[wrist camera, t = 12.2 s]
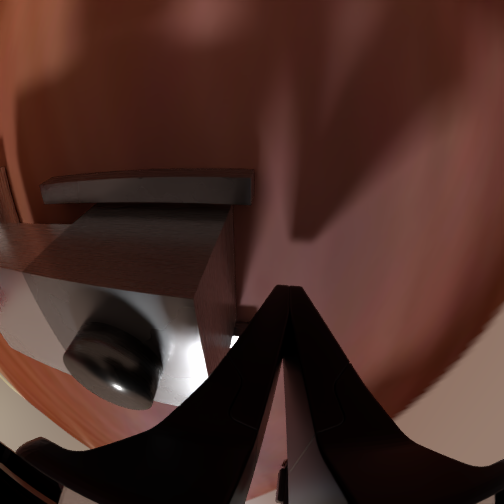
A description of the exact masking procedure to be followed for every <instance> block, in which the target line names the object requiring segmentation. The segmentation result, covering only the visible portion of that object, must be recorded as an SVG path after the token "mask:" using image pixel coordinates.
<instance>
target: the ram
mask: <svg viewBox="0 0 504 504" xmlns="http://www.w3.org/2000/svg"><path fill="white" fill-rule="evenodd" d="M236 318H237V311H236V285H235V256H234V222H233V204H210V203H170V202H99V203H97V204H96V205H94V206H93V207H92V208H91V209H90V210H88V211H87V212H86V213H85V214H84V215H82V216H81V217H80V218H79V219H78V220H76V221H75V222H74V223H73V224H29V223H0V332H1V334H2V335H3V337H4V338H5V340H6V341H7V343H8V344H9V345H10V347H11V348H13V349H15V350H17V351H19V352H21V353H23V354H25V355H27V356H29V357H31V358H33V359H35V360H37V361H40V362H42V363H44V364H46V365H49V366H51V367H53V368H56V369H58V370H60V371H63V372H65V373H68V374H70V375H72V376H73V377H74V378H75V379H76V380H77V381H78V382H79V383H80V384H82V385H83V386H84V387H85V388H87V389H88V390H90V391H91V392H92V393H94V394H96V395H97V396H99V397H101V398H103V399H105V400H107V401H109V402H111V403H113V404H116V405H118V406H121V407H125V408H128V409H134V410H146V409H149V408H150V407H151V406H152V403H153V401H157V402H161V403H166V404H170V405H175V406H179V405H180V404H181V403H183V402H184V401H185V400H186V399H187V398H188V397H189V396H190V395H191V394H192V393H193V392H194V391H195V390H196V389H197V388H198V387H199V386H200V385H201V384H202V383H203V382H204V381H205V380H206V379H207V378H208V377H209V375H210V374H211V373H212V372H213V370H214V369H215V368H216V367H217V366H218V364H219V363H220V362H221V360H222V359H223V358H224V356H226V354H227V353H228V351H229V350H230V346H231V342H232V337H233V332H234V328H235V323H236Z"/></svg>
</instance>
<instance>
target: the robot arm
mask: <svg viewBox="0 0 504 504" xmlns="http://www.w3.org/2000/svg"><path fill="white" fill-rule="evenodd" d="M282 359H283V369H284V388H285V408H286V430H287V457H288V462H286V464H285V466H284V468H282V469H281V470H280V471H279V473H278V482H277V492H276V502H277V503H281V504H504V459H503V460H500V461H498V462H496V463H494V464H492V465H490V466H484V467H478V466H472V465H468V464H465V463H462V462H460V461H457V460H455V459H452V458H449V457H447V456H444V455H442V454H440V453H437V452H435V451H433V450H430V449H428V448H426V447H423V446H421V445H419V444H417V443H415V442H414V441H412V440H411V439H409V438H408V437H407V436H406V435H405V434H404V433H403V432H402V431H401V430H400V429H399V428H398V426H397V425H396V424H395V423H394V421H393V420H392V419H391V418H390V416H389V415H388V414H387V413H386V411H385V410H384V409H383V408H382V406H381V405H380V404H379V403H378V401H377V400H376V399H375V398H374V396H373V395H372V394H371V392H370V391H369V390H368V389H367V387H366V386H365V384H364V383H363V381H362V380H361V378H360V377H359V375H358V374H357V372H356V371H355V369H354V368H353V366H352V364H351V363H350V361H349V360H348V358H347V356H346V355H345V353H344V352H343V350H342V349H341V347H340V345H339V344H338V342H337V341H336V339H335V337H334V336H333V334H332V333H331V331H330V330H329V328H328V326H327V325H326V323H325V322H324V320H323V319H322V317H321V316H320V314H319V312H318V311H317V309H316V308H315V306H314V305H313V303H312V302H311V300H310V298H309V297H308V295H307V294H306V292H305V291H304V289H303V288H302V287H301V286H288V285H276V286H275V287H274V289H273V290H272V292H271V293H270V295H269V296H268V297H267V299H266V300H265V302H264V303H263V304H262V306H261V307H260V309H259V310H258V311H257V313H256V314H255V316H254V317H253V318H252V320H251V321H250V323H249V324H248V325H247V327H246V328H245V329H244V331H243V332H242V334H241V335H240V336H239V338H238V339H237V340H236V342H235V343H234V344H233V346H232V347H231V348H230V350H229V351H228V353H227V354H226V356H224V358H223V359H222V360H221V362H220V363H219V364H218V366H217V367H216V368H215V369H214V370H213V372H212V373H211V374H210V375H209V377H208V378H207V379H206V380H205V381H204V382H203V383H202V384H201V385H200V386H199V387H198V388H197V389H196V390H195V391H194V392H193V393H192V394H191V395H190V396H189V397H188V398H187V399H186V400H185V401H184V402H183V403H181V404H180V405H179V406H178V407H177V408H176V409H175V410H174V411H173V412H172V413H171V414H170V415H169V416H168V417H166V418H165V419H164V420H163V421H162V422H160V423H159V424H158V425H156V426H155V427H153V428H151V429H149V430H147V431H145V432H142V433H140V434H137V435H134V436H131V437H128V438H126V439H123V440H120V441H117V442H114V443H111V444H107V445H104V446H101V447H98V448H94V449H91V450H86V451H72V450H67V449H64V448H62V447H60V446H58V445H57V444H55V443H53V442H51V441H49V440H48V439H45V438H43V437H38V438H36V439H33V440H31V441H28V442H26V443H25V444H23V445H22V446H20V447H19V448H18V449H17V451H16V453H15V452H14V451H12V450H11V449H10V448H8V447H7V446H6V445H4V444H3V443H2V442H0V504H245V501H246V498H247V494H248V491H249V488H250V484H251V481H252V478H253V474H254V471H255V467H256V464H257V460H258V456H259V453H260V449H261V445H262V442H263V438H264V434H265V430H266V426H267V422H268V419H269V415H270V410H271V406H272V402H273V398H274V394H275V390H276V385H277V381H278V377H279V372H280V368H281V363H282Z"/></svg>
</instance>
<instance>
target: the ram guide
mask: <svg viewBox="0 0 504 504" xmlns="http://www.w3.org/2000/svg"><path fill="white" fill-rule="evenodd" d="M39 186H40V190H41V194H42V198H43V201H44V204H62V203H99V202H170V203H210V204H236V205H251V203H252V200H253V196H254V170H249V169H153V170H131V171H115V172H101V173H89V174H79V175H69V176H61V177H52V178H51V179H49V180H47V181H46V182H44V183H42V184H41V185H39ZM248 324H249V323H243V322H236V323H235V328H234V332H233V337H232V342H231V346H230V348H231V347H232V346H233V344H234V343H235V342H236V340H237V339H238V338H239V336H240V335H241V334H242V332H243V331H244V329H245V328H246V327H247V325H248Z"/></svg>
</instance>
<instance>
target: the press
mask: <svg viewBox="0 0 504 504" xmlns="http://www.w3.org/2000/svg"><path fill="white" fill-rule="evenodd" d="M0 223H20V222H19V219H18V216H17V213H16V209H15V206H14V202H13V199H12V195H11V191H10V188H9V184H8V179H7V175H6V171H5V167H1V168H0Z"/></svg>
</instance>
